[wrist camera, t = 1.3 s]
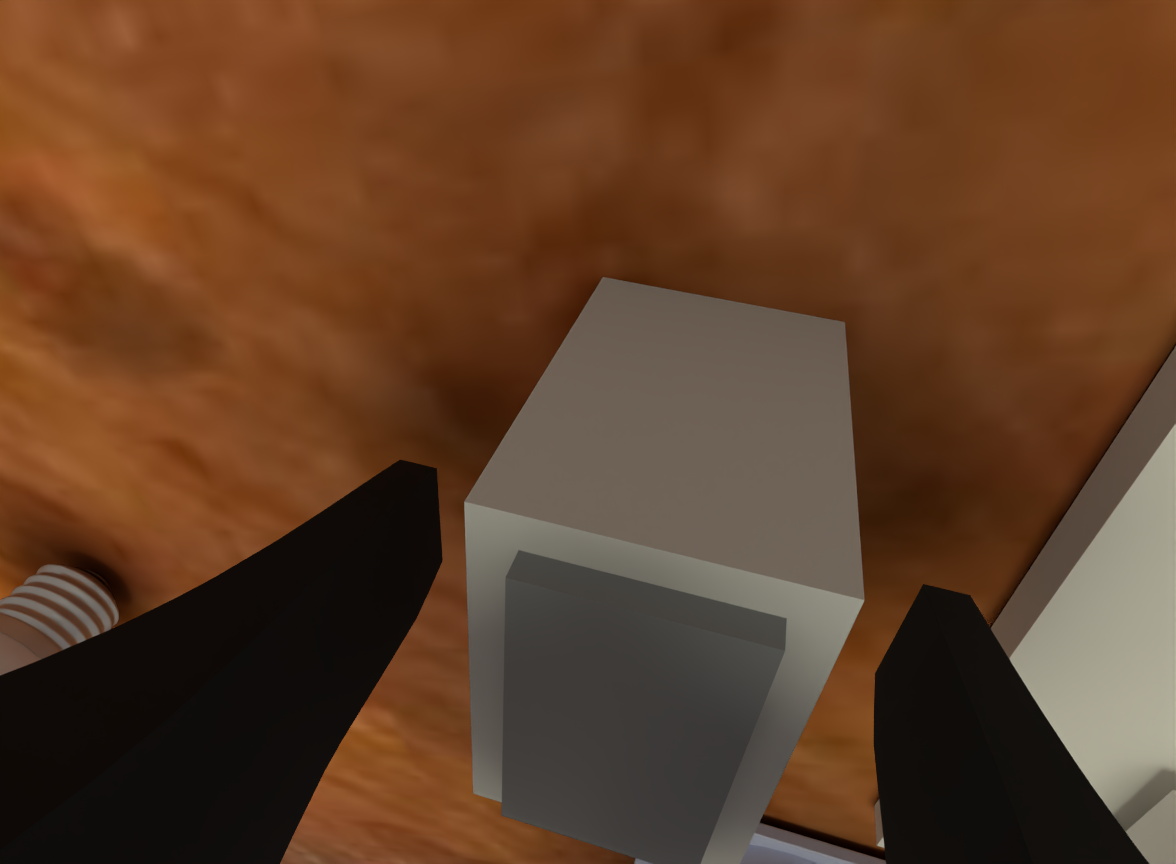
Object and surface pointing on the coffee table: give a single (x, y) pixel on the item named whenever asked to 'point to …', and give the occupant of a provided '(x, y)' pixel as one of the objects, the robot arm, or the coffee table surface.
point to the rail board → (1109, 616)
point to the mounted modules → (1157, 832)
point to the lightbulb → (53, 614)
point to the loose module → (662, 572)
